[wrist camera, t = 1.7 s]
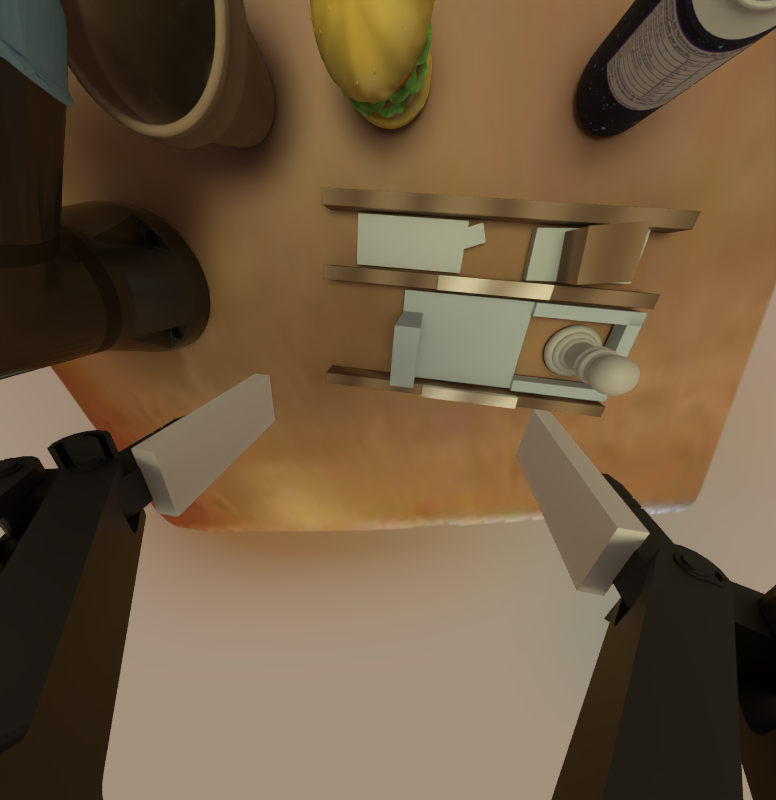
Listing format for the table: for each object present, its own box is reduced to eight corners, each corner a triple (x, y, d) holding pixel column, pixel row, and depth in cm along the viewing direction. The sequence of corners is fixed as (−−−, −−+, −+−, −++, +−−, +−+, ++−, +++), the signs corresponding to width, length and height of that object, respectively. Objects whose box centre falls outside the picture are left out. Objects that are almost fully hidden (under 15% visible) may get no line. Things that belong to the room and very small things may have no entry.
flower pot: (154, 4, 22) (-36, -177, 13) (289, -18, 20) (180, -240, 11) (200, 184, 27) (86, 143, 18) (311, 176, 25) (247, 128, 16)
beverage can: (657, 118, 21) (895, -35, 10) (574, 155, 22) (706, 54, 12) (659, 15, 19) (961, -314, 8) (567, 63, 20) (721, -162, 10)
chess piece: (610, 339, 28) (683, 368, 20) (572, 381, 30) (623, 423, 22) (566, 314, 28) (622, 334, 20) (531, 360, 30) (568, 394, 22)
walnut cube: (555, 282, 25) (576, 284, 22) (565, 231, 24) (589, 225, 20) (603, 279, 25) (632, 281, 21) (616, 227, 23) (651, 220, 20)
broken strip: (359, 265, 28) (357, 265, 27) (361, 211, 26) (358, 208, 25) (620, 288, 26) (628, 289, 25) (644, 230, 24) (654, 229, 23)
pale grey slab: (398, 371, 32) (387, 405, 24) (406, 288, 28) (396, 298, 20) (595, 394, 30) (655, 441, 22) (634, 310, 26) (724, 329, 18)
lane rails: (333, 374, 34) (324, 384, 31) (330, 194, 26) (318, 185, 23) (588, 406, 31) (603, 420, 29) (674, 216, 23) (708, 209, 20)
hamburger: (439, 134, 23) (447, 20, 12) (356, 157, 24) (299, 72, 14) (429, -4, 20) (429, -320, 9) (335, 31, 21) (239, -207, 11)
